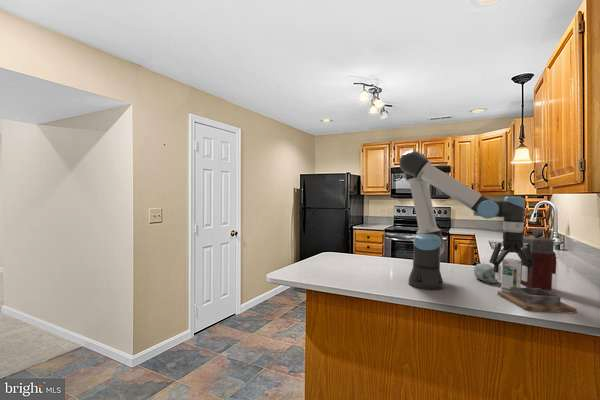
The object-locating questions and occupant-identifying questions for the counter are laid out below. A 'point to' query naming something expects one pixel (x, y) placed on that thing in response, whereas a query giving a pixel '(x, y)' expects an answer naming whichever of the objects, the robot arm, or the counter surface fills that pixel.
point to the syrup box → (510, 274)
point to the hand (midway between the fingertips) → (510, 280)
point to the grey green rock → (485, 273)
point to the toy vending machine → (540, 261)
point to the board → (536, 300)
